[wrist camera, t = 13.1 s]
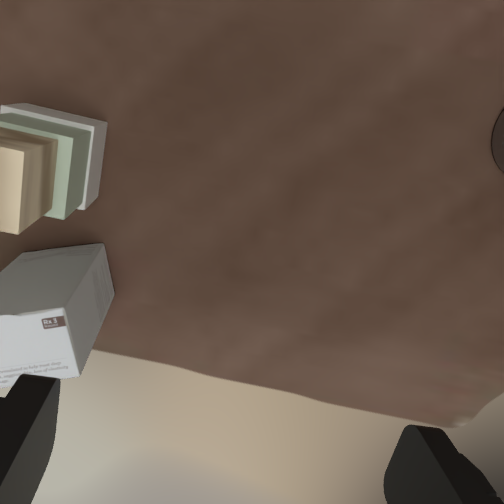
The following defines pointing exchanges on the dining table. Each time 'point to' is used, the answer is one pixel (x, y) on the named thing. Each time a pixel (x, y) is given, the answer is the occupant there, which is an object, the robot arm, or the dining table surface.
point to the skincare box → (52, 311)
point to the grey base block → (93, 125)
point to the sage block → (59, 159)
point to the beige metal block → (25, 178)
